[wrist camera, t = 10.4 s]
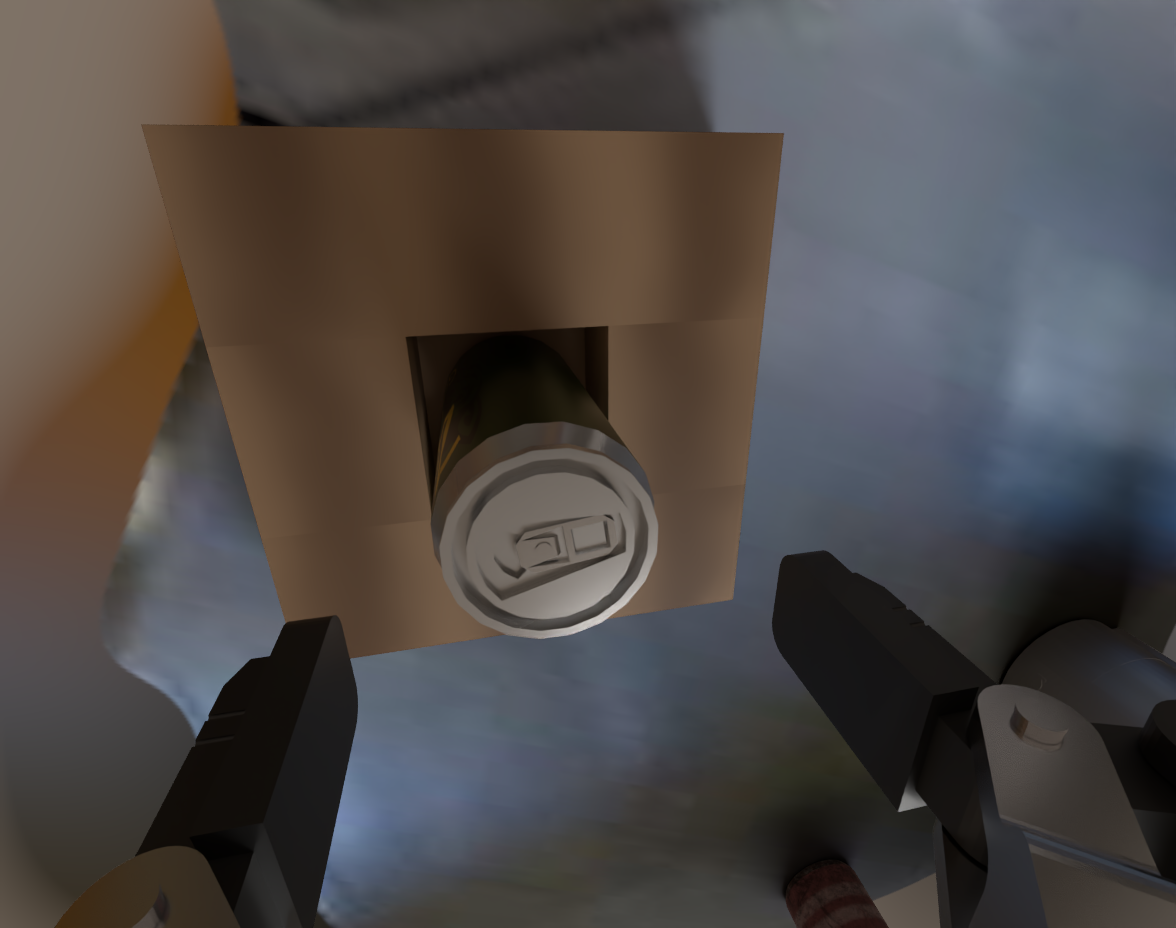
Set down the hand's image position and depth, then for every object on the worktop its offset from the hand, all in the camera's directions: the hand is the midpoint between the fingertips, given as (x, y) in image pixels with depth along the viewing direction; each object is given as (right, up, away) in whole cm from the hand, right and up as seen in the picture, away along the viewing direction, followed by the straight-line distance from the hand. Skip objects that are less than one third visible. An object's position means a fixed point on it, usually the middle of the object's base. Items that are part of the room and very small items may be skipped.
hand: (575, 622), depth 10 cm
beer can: (-3, +6, +13) cm, 15 cm away
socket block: (-3, +6, +14) cm, 16 cm away
